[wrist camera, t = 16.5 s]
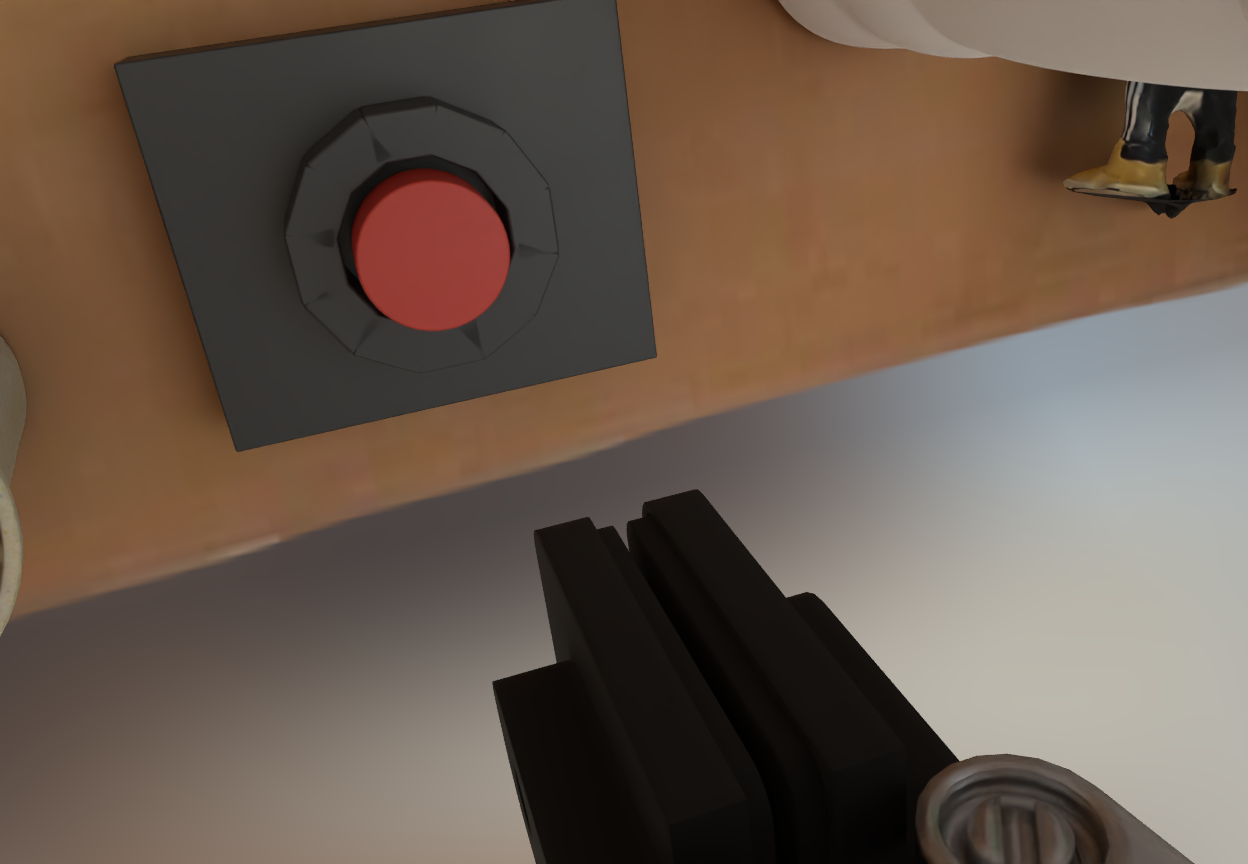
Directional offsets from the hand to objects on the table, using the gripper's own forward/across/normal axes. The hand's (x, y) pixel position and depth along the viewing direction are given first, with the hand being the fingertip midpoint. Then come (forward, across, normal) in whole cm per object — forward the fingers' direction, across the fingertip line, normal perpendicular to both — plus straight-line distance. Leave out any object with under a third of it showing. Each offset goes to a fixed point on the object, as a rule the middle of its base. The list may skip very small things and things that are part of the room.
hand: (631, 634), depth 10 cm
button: (+17, 0, 0) cm, 17 cm away
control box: (+21, 0, 0) cm, 21 cm away
